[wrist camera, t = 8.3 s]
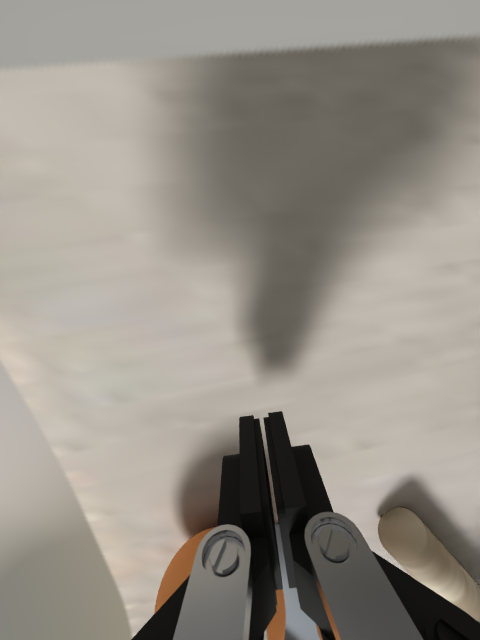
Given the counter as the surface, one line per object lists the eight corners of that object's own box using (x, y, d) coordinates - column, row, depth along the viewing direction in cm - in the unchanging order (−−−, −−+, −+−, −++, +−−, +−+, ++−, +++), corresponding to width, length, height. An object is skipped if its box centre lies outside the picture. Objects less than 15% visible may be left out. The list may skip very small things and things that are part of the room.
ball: (269, 724, 12) (292, 554, 16) (269, 802, 8) (300, 545, 12) (152, 659, 14) (199, 519, 18) (99, 695, 9) (176, 499, 13)
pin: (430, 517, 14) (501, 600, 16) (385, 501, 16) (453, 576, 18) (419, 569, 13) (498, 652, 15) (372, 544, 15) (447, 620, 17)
